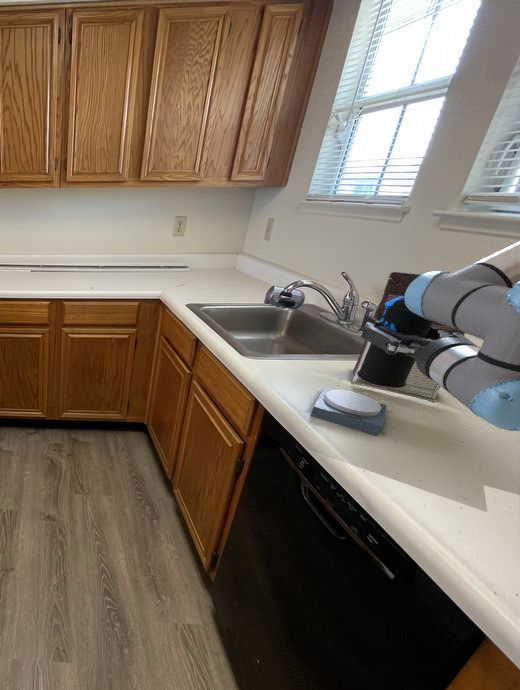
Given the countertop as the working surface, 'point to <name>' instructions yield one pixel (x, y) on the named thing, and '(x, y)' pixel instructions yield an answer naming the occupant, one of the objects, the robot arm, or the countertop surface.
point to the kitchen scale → (350, 410)
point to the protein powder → (415, 379)
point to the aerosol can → (398, 366)
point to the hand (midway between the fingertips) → (390, 323)
